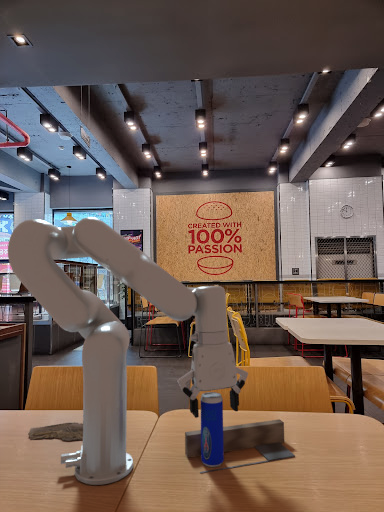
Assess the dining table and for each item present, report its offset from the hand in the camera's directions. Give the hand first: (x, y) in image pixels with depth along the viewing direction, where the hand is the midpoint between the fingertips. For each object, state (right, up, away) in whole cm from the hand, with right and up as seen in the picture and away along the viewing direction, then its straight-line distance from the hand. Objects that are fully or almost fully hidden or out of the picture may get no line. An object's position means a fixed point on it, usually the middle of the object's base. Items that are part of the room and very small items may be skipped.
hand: (215, 412), depth 78 cm
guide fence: (+7, -11, +1) cm, 13 cm away
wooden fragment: (-39, -13, +15) cm, 44 cm away
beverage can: (-1, -11, -1) cm, 11 cm away
